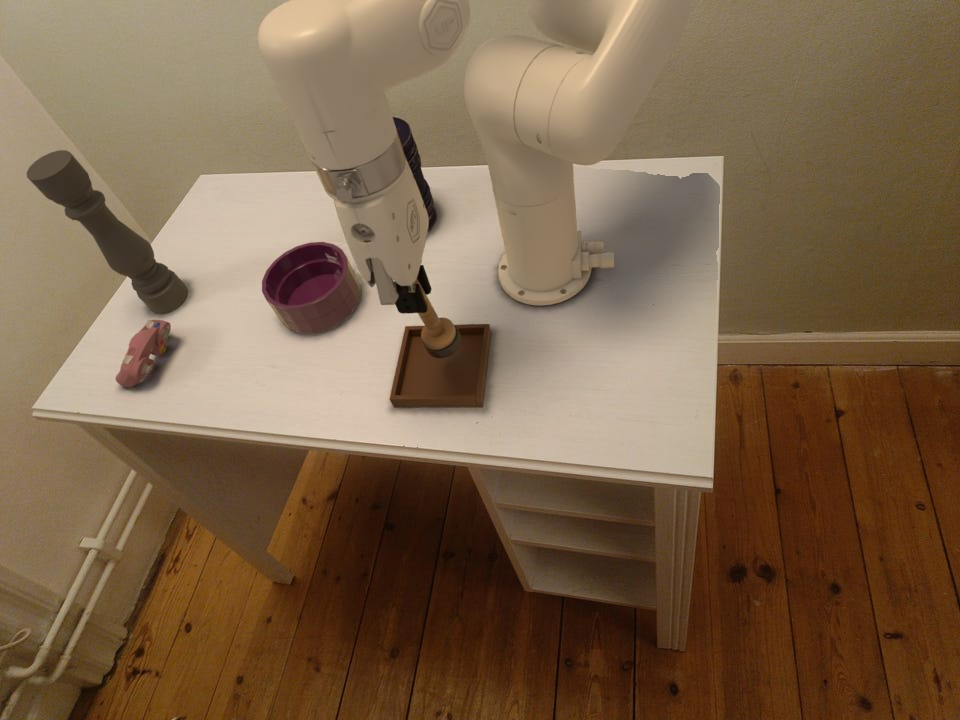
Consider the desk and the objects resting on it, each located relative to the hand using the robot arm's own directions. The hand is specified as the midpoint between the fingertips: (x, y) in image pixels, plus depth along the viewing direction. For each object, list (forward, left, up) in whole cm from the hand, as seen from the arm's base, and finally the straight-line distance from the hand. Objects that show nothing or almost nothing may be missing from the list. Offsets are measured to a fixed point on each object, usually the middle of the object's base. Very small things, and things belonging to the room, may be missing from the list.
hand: (415, 301), depth 66 cm
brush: (-1, 0, -8) cm, 8 cm away
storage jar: (+10, -28, -14) cm, 33 cm away
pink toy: (+43, -2, -14) cm, 45 cm away
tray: (0, 0, -13) cm, 13 cm away
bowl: (+20, -12, -13) cm, 27 cm away
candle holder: (+46, -14, -14) cm, 50 cm away
